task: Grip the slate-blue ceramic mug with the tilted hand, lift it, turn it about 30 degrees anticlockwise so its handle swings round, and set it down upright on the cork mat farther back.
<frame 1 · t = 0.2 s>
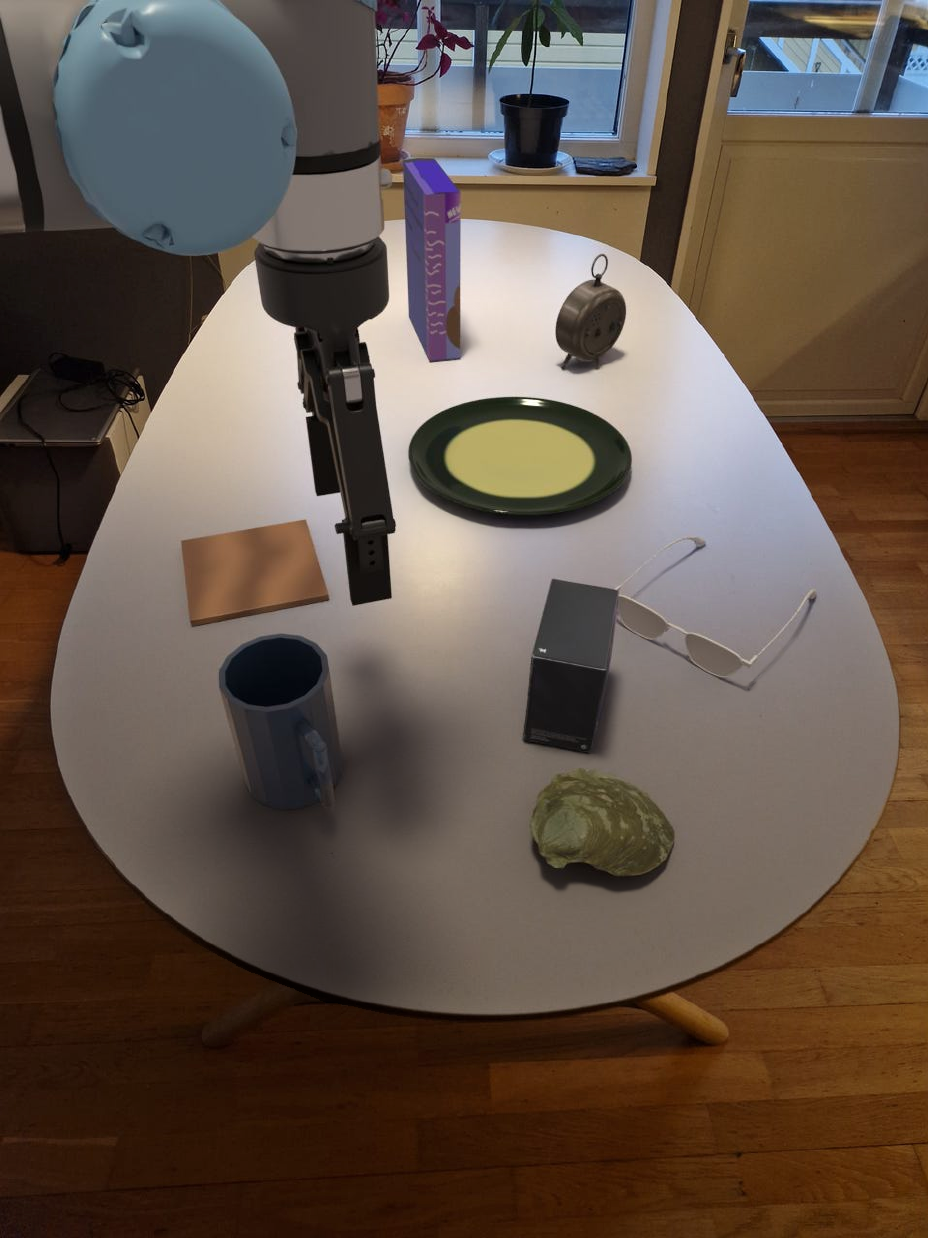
hand: (350, 541, 63), 21 cm above the table, tool pointing down, fingers open, 13 cm apart
seashell: (598, 840, 68), on the table
cereal box: (433, 338, 138), on the table
small box: (566, 707, 79), on the table
plate: (519, 466, 110), on the table
cork mat: (253, 572, 93), on the table
eyeglasses: (715, 609, 89), on the table
alarm clock: (588, 365, 131), on the table
mug: (294, 769, 73), on the table
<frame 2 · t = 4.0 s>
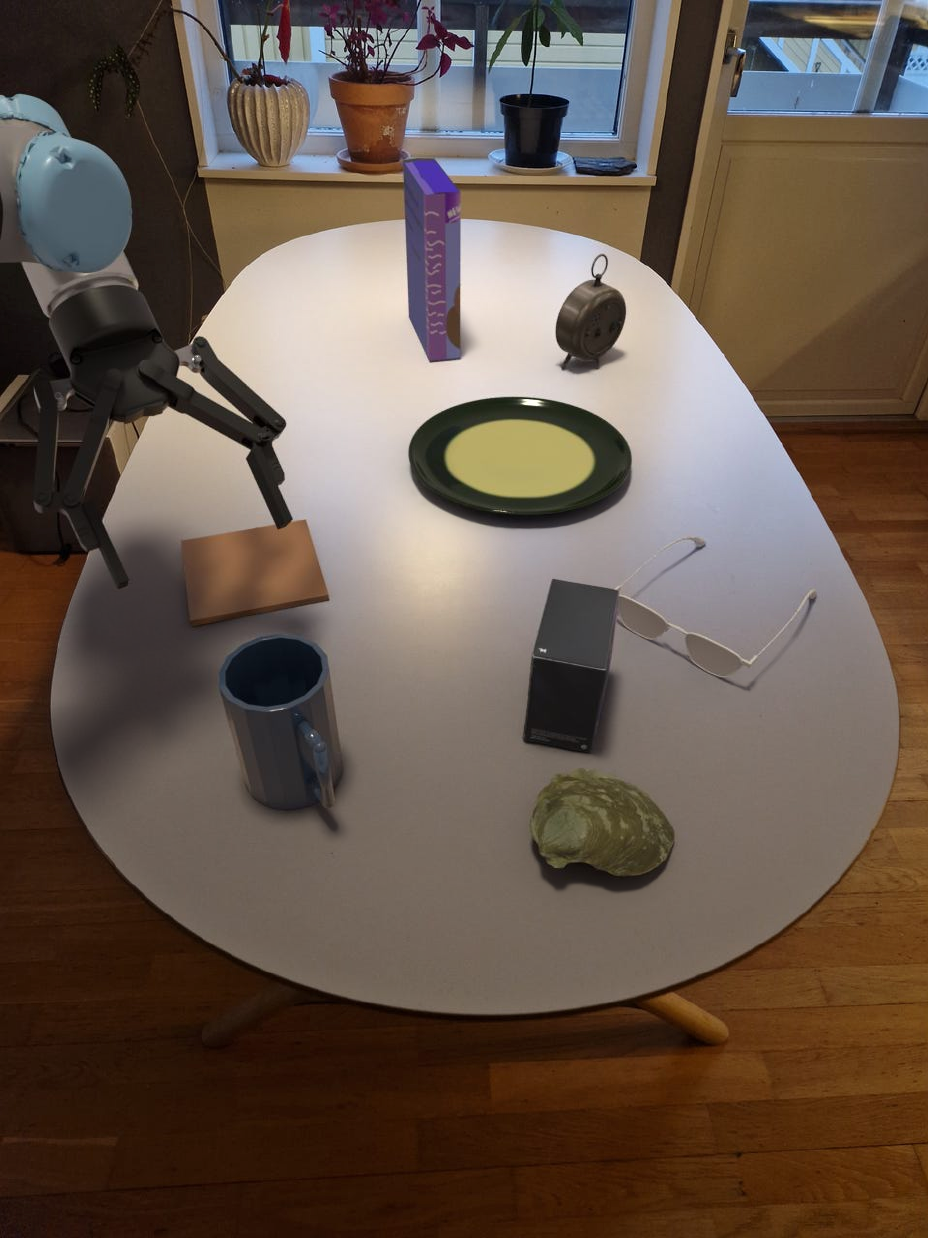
hand: (208, 554, 68), 17 cm above the table, tool tilted 45°, fingers open, 13 cm apart
nothing on the table moved.
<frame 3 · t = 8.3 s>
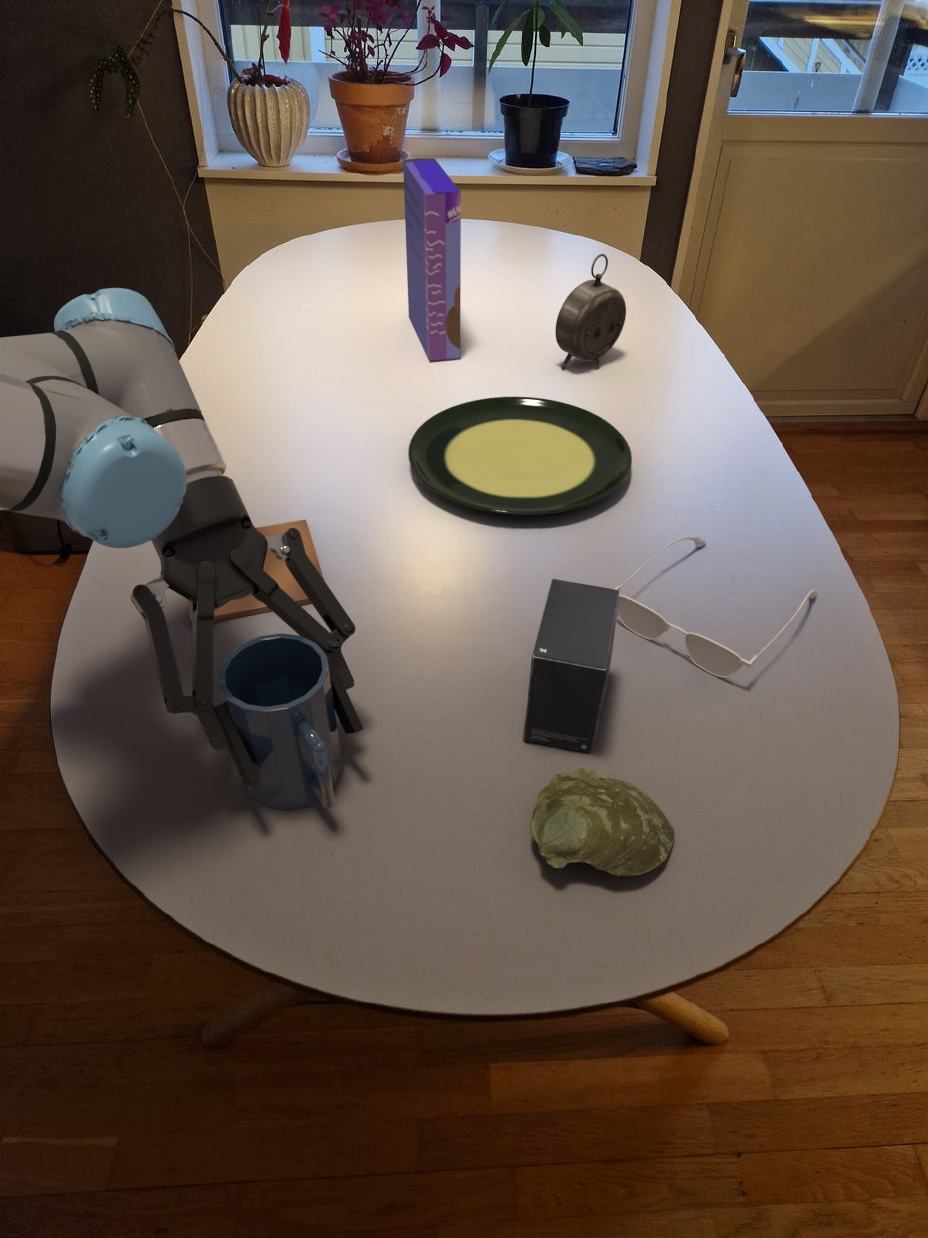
hand: (305, 756, 68), 5 cm above the table, tool tilted 45°, fingers closed on mug, 8 cm apart
mug: (293, 769, 73), on the table, touching gripper
everything else where it was.
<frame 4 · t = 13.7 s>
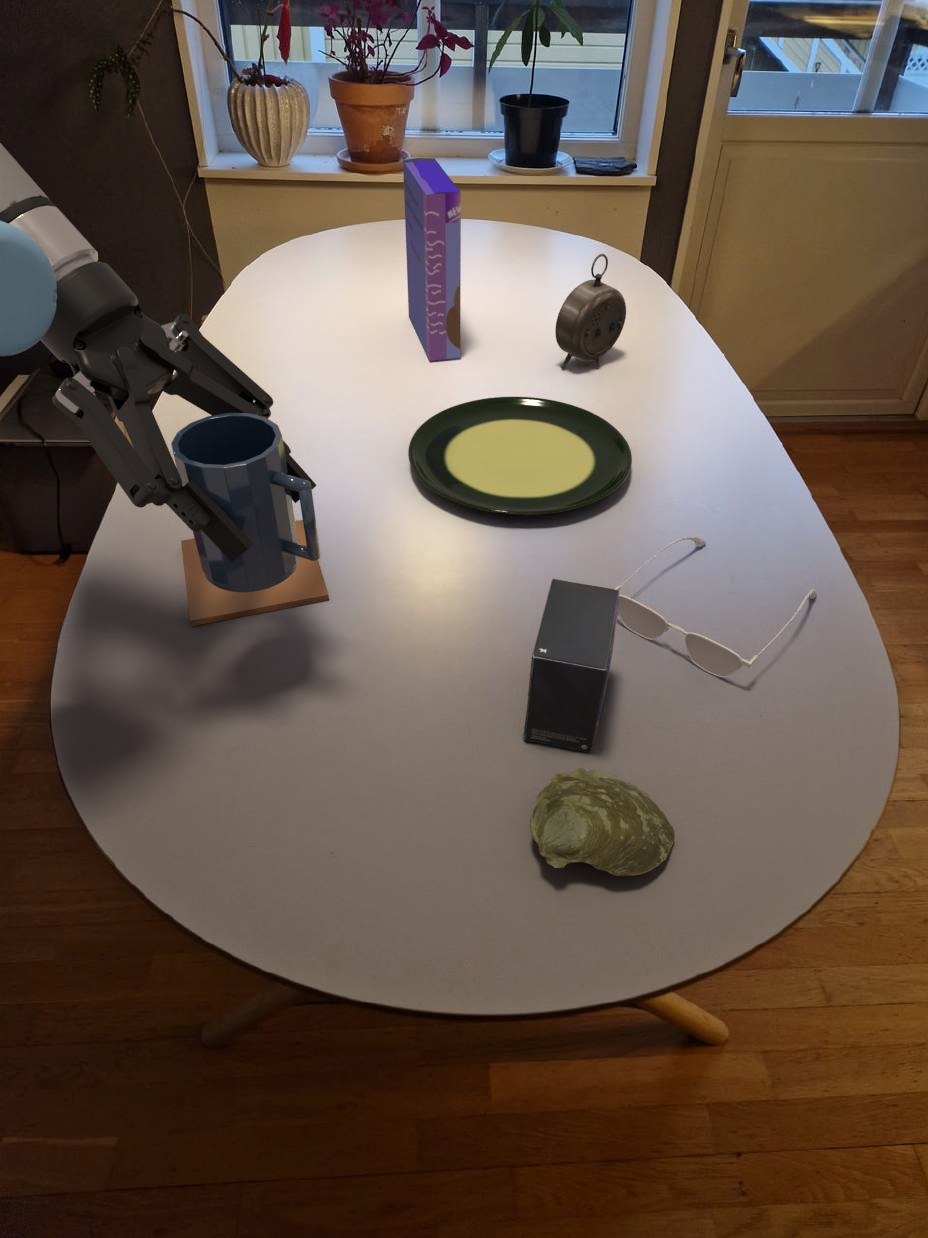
hand: (275, 522, 70), 18 cm above the table, tool tilted 45°, fingers closed on mug, 8 cm apart
mug: (251, 561, 74), point 13 cm above the table, touching gripper
everything else where it was.
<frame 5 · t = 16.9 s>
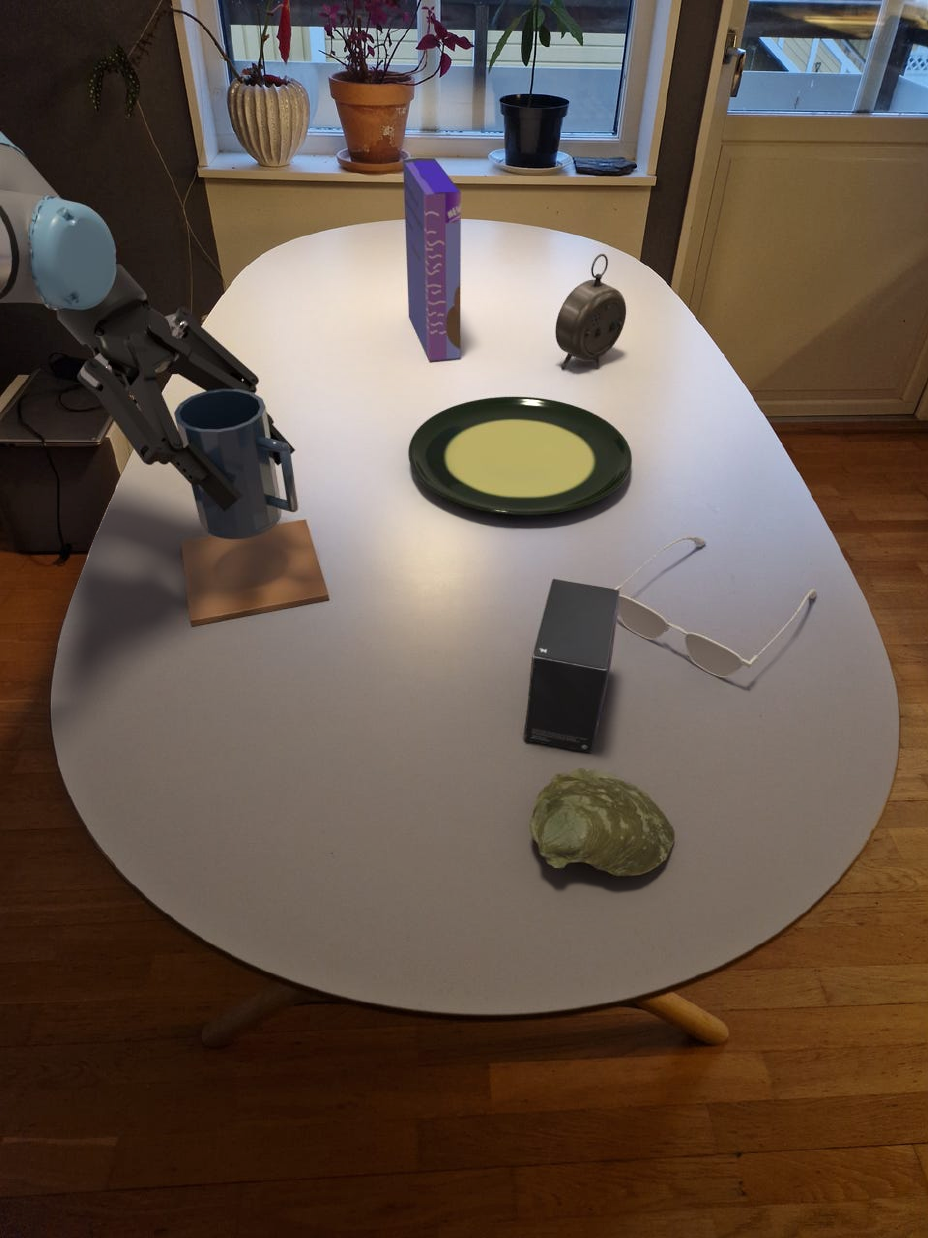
hand: (260, 479, 84), 13 cm above the table, tool tilted 45°, fingers closed on mug, 8 cm apart
mug: (241, 515, 88), point 7 cm above the table, touching gripper
everything else where it was.
when the fingers open (6 cm above the table, at t = 19.3 s): mug stays where it is, resting on cork mat.
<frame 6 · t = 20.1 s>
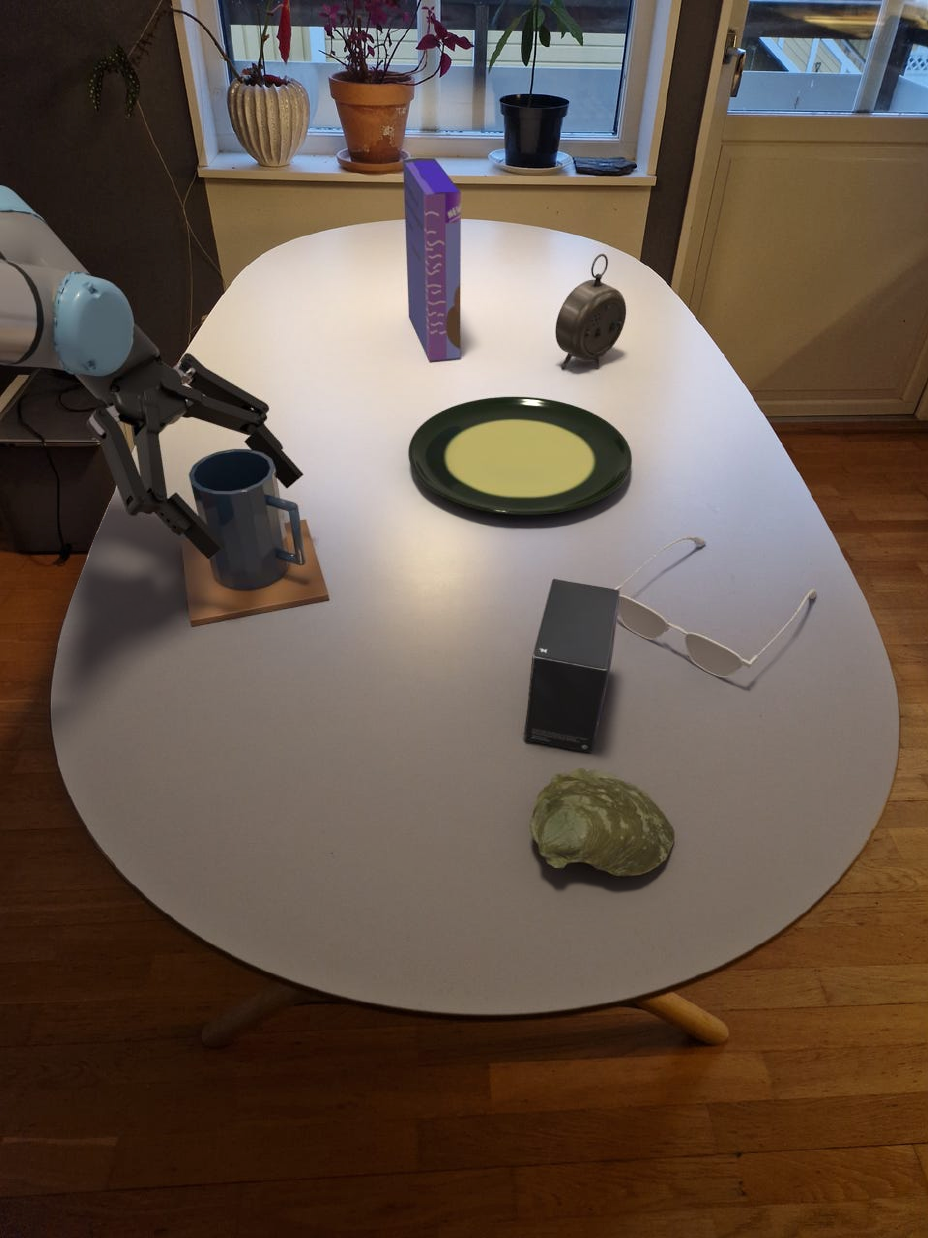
hand: (258, 515, 87), 8 cm above the table, tool tilted 45°, fingers open, 13 cm apart
mug: (251, 566, 93), point 1 cm above the table, touching cork mat
everything else where it was.
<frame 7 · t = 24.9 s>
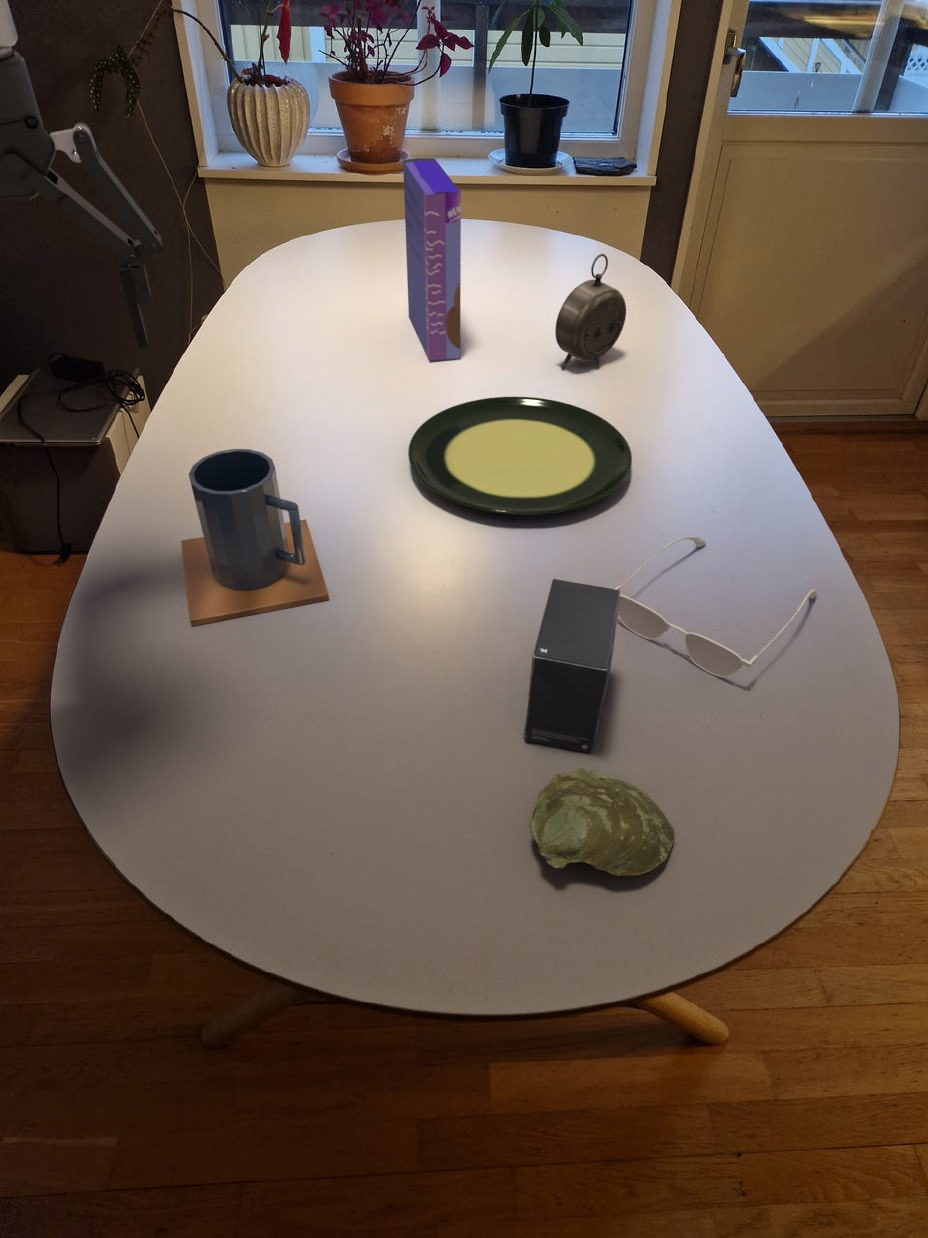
hand: (59, 351, 73), 27 cm above the table, tool pointing down, fingers open, 13 cm apart
nothing on the table moved.
at the end: mug inside the target area on the cork mat (0.0 cm from its centre), point 0.8 cm above the cork mat's base; mug tilted 0°; the gripper is holding nothing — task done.
